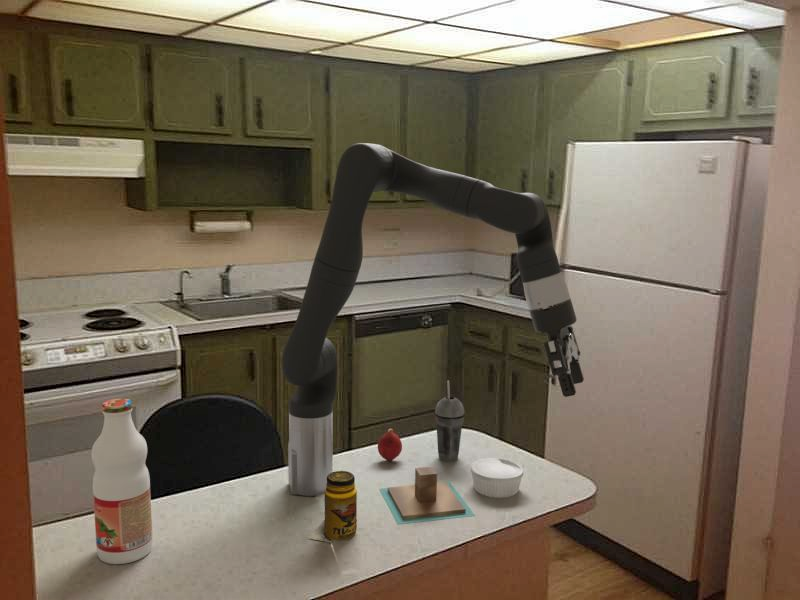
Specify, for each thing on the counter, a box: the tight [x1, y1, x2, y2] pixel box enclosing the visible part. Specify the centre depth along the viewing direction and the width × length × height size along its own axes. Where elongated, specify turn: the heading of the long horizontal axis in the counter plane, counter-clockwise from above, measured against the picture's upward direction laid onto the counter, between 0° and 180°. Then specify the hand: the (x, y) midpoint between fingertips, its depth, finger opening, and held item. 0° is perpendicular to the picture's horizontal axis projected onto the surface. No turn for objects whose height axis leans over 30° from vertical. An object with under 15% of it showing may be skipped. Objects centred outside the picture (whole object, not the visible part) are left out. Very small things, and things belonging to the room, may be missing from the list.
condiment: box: [307, 470, 358, 544], centre depth 135 cm, size 7×8×12 cm
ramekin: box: [470, 457, 524, 499], centre depth 156 cm, size 11×11×5 cm
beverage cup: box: [434, 380, 466, 462], centre depth 170 cm, size 7×7×20 cm
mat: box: [378, 481, 476, 525], centre depth 149 cm, size 16×16×1 cm
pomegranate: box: [377, 428, 403, 462], centre depth 170 cm, size 6×6×8 cm
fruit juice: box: [91, 398, 154, 565], centre depth 126 cm, size 9×9×28 cm
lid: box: [387, 466, 466, 520], centre depth 148 cm, size 13×13×7 cm
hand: (574, 389), depth 128 cm, fingers open, 8 cm apart
